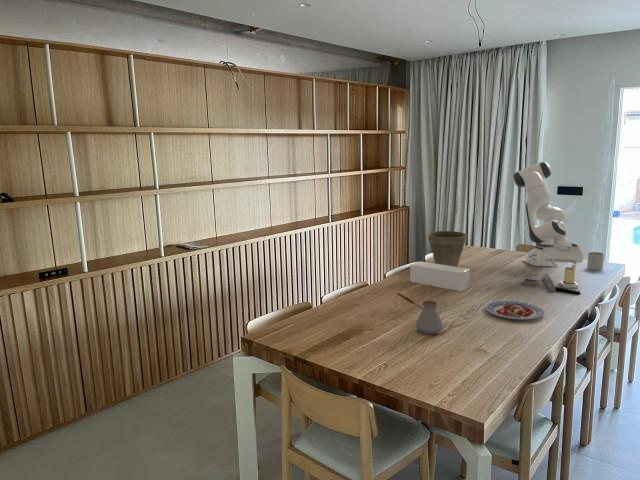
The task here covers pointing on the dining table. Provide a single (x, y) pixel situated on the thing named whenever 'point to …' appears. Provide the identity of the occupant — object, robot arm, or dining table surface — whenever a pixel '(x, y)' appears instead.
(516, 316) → the ceramic plate
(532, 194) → the robot arm
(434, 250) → the plant pot
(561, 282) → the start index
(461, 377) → the dining table surface
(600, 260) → the cup
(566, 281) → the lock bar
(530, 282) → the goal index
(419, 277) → the white rectangular block
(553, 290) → the long grey bar
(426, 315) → the coffee pot
